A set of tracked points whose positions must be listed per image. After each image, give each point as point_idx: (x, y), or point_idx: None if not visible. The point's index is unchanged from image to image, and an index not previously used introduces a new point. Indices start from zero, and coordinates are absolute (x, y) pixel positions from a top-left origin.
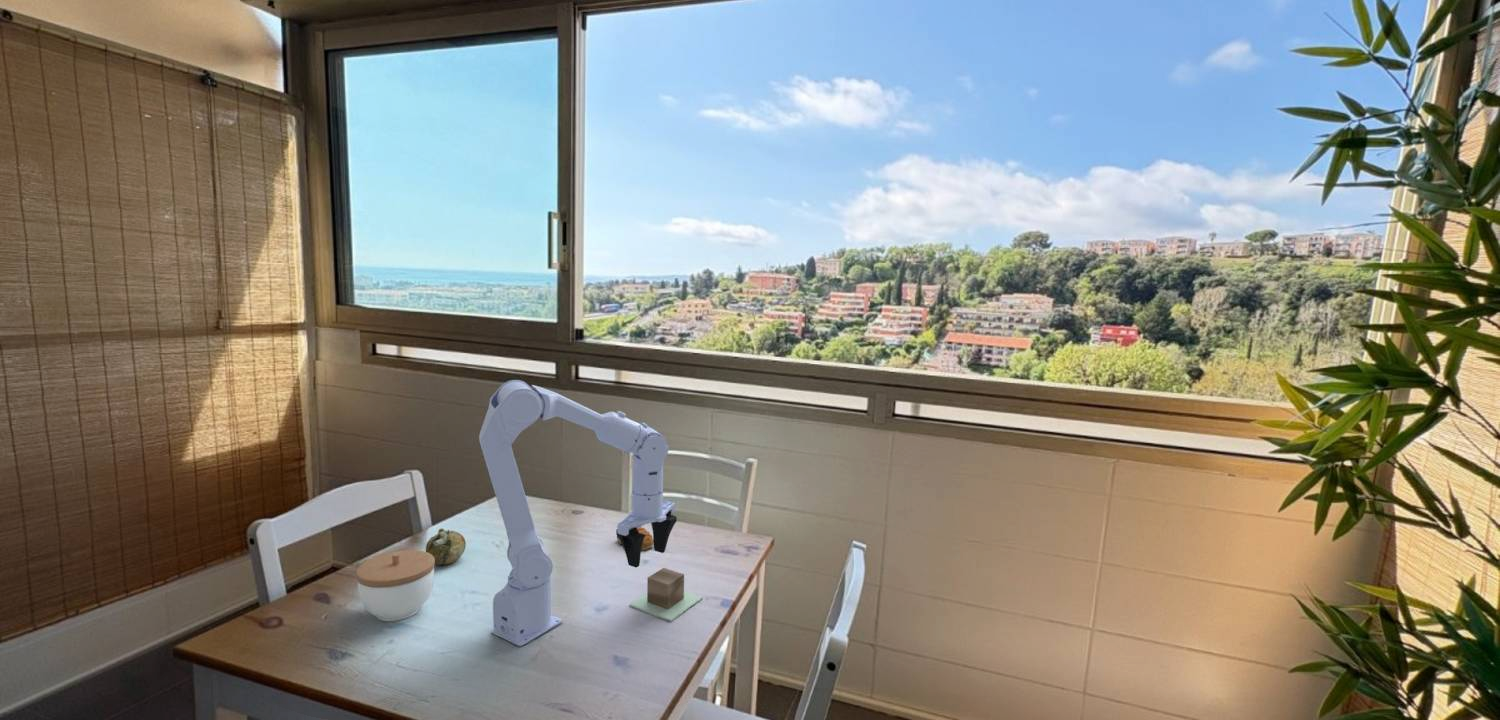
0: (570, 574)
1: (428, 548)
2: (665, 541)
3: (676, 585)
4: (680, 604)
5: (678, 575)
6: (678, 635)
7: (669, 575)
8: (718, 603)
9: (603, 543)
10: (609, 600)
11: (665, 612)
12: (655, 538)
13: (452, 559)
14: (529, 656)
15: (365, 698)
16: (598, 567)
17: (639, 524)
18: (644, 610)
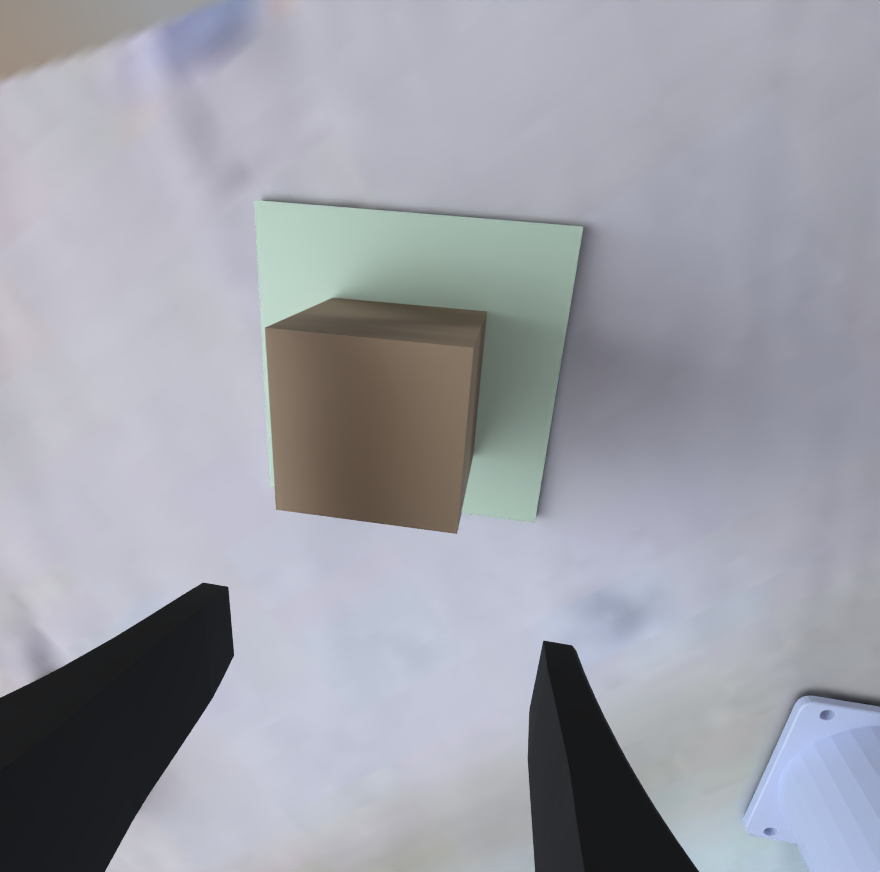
0: (427, 827)
1: None
2: (144, 648)
3: (378, 326)
4: (400, 276)
5: (306, 357)
6: (709, 82)
7: (344, 417)
8: (240, 67)
9: (161, 833)
10: (531, 618)
11: (522, 306)
12: (163, 747)
13: None
14: None
15: None
16: (320, 773)
17: None
18: (549, 426)
